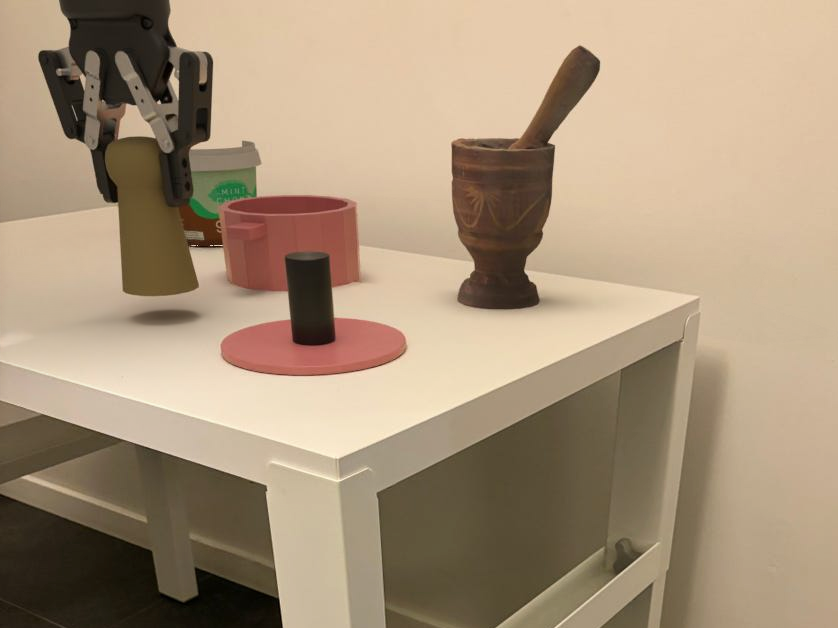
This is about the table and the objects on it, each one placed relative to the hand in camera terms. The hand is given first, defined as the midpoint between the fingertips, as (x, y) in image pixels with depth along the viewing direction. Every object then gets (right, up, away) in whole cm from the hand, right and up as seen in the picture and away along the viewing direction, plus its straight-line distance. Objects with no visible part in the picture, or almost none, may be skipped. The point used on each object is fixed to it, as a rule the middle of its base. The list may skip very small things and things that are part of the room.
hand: (147, 202), depth 77 cm
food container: (-2, +11, +37) cm, 38 cm away
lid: (+14, -12, -3) cm, 19 cm away
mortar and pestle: (+29, -4, +11) cm, 32 cm away
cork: (0, -6, +3) cm, 7 cm away
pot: (+8, +1, +19) cm, 20 cm away
